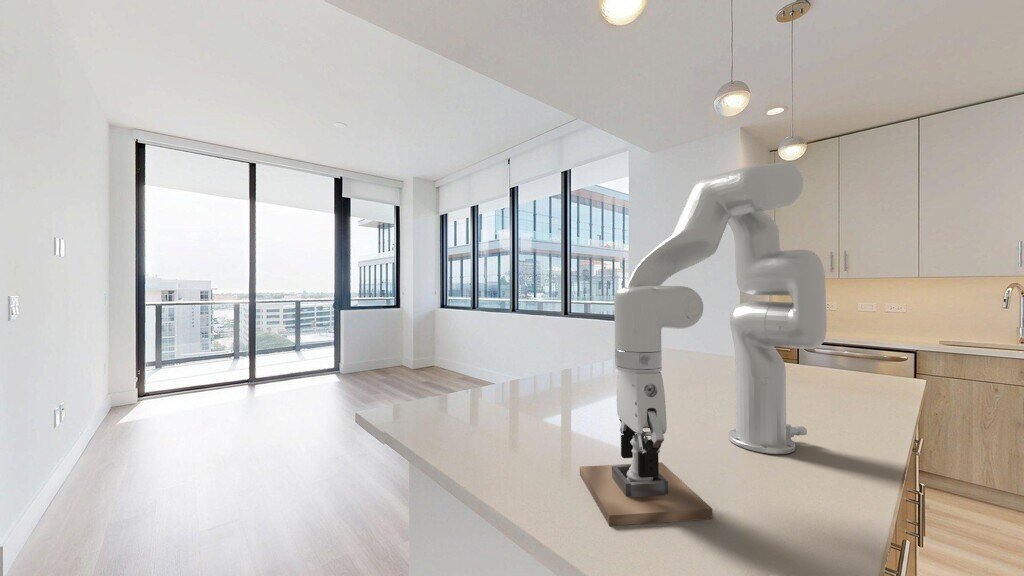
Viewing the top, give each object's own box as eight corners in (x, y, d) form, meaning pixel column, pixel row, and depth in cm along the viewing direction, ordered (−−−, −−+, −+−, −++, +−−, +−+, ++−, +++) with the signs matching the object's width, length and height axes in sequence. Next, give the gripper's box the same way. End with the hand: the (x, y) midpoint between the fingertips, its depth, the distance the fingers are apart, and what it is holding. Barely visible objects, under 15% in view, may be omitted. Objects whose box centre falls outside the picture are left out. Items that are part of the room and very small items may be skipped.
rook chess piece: (621, 478, 68) (622, 432, 68) (646, 478, 69) (647, 432, 69) (631, 491, 64) (632, 442, 64) (658, 491, 64) (659, 442, 64)
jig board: (661, 470, 75) (661, 451, 75) (712, 518, 59) (712, 495, 59) (579, 474, 73) (579, 455, 73) (609, 525, 57) (608, 501, 57)
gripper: (686, 369, 58) (687, 491, 58) (637, 351, 75) (638, 445, 75) (637, 371, 57) (638, 494, 57) (599, 352, 74) (600, 447, 74)
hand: (638, 465), depth 66 cm, fingers open, 6 cm apart
